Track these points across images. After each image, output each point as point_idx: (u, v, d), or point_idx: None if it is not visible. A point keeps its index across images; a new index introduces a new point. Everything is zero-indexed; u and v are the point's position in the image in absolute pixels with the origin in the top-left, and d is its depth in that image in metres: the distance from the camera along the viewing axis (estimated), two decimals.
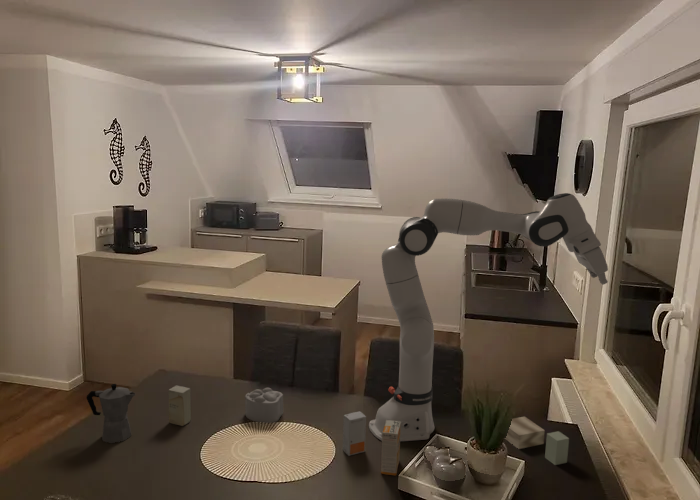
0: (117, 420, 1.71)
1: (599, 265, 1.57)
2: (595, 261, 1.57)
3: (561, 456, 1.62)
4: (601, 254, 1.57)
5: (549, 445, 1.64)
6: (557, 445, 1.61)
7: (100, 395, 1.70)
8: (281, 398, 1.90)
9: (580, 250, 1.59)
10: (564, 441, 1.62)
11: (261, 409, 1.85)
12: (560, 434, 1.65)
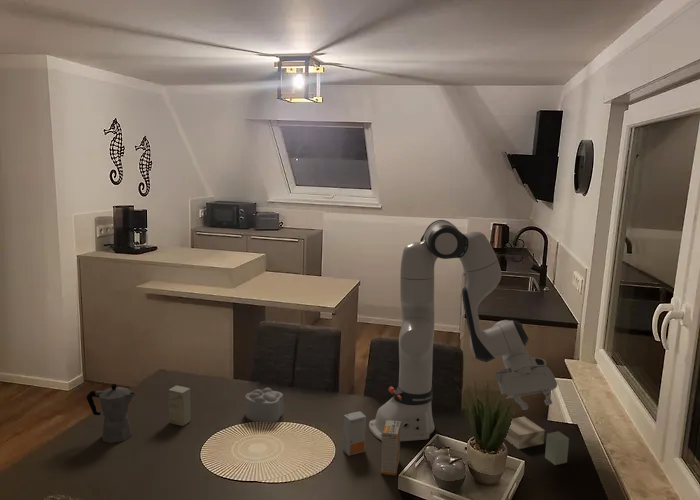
0: (117, 420, 1.71)
1: None
2: None
3: (561, 456, 1.62)
4: None
5: (549, 445, 1.64)
6: (557, 445, 1.61)
7: (100, 395, 1.70)
8: (281, 398, 1.89)
9: None
10: (564, 441, 1.62)
11: (261, 409, 1.85)
12: (560, 434, 1.65)
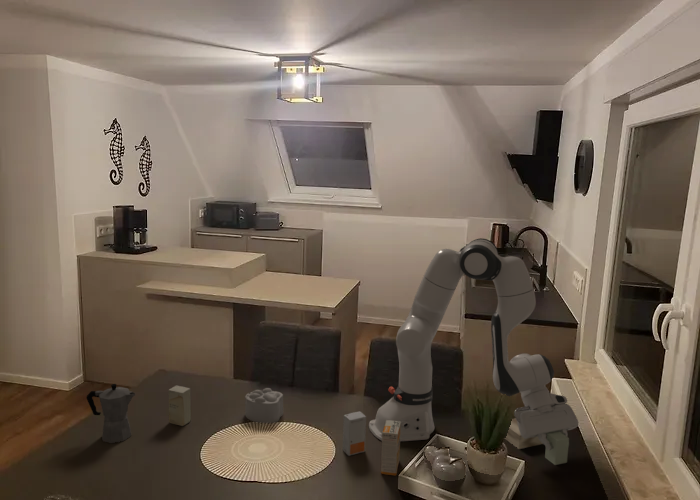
0: (117, 420, 1.71)
1: None
2: None
3: (561, 456, 1.62)
4: None
5: None
6: (557, 445, 1.61)
7: (100, 395, 1.70)
8: (281, 398, 1.89)
9: None
10: (564, 441, 1.62)
11: (261, 409, 1.84)
12: (560, 434, 1.65)
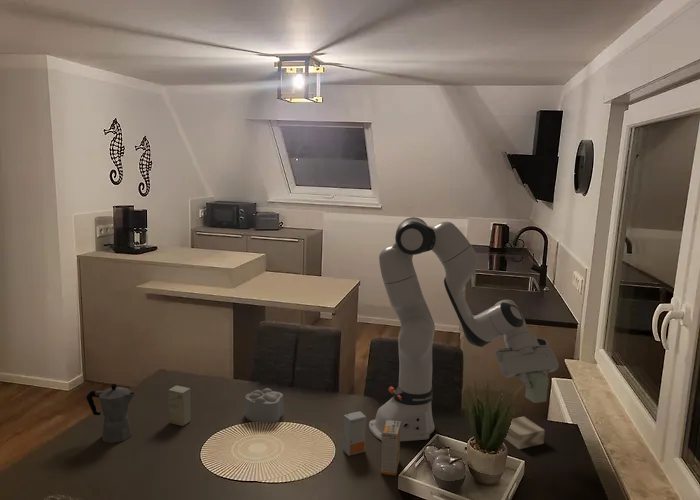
0: (117, 420, 1.71)
1: None
2: None
3: (540, 394, 1.67)
4: None
5: None
6: (537, 384, 1.66)
7: (100, 395, 1.70)
8: (281, 398, 1.89)
9: None
10: (544, 380, 1.67)
11: (262, 409, 1.84)
12: (540, 374, 1.69)
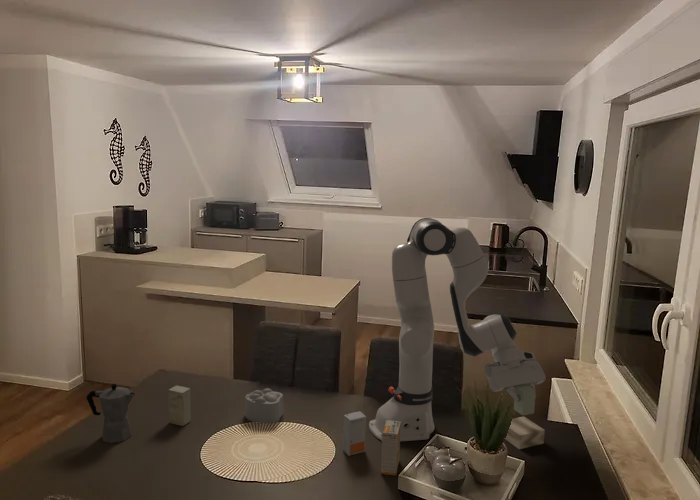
0: (117, 420, 1.71)
1: None
2: None
3: (528, 407, 1.73)
4: None
5: None
6: (524, 397, 1.72)
7: (100, 395, 1.70)
8: (281, 398, 1.89)
9: None
10: (531, 393, 1.73)
11: (262, 409, 1.84)
12: (527, 387, 1.75)
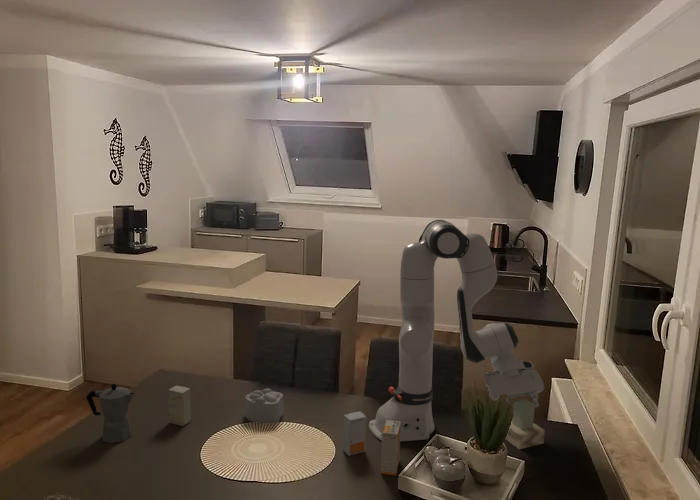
0: (117, 420, 1.71)
1: None
2: None
3: (527, 421, 1.74)
4: None
5: (517, 411, 1.75)
6: (523, 411, 1.73)
7: (100, 395, 1.70)
8: (281, 398, 1.89)
9: None
10: (530, 407, 1.73)
11: (262, 410, 1.84)
12: (527, 401, 1.76)
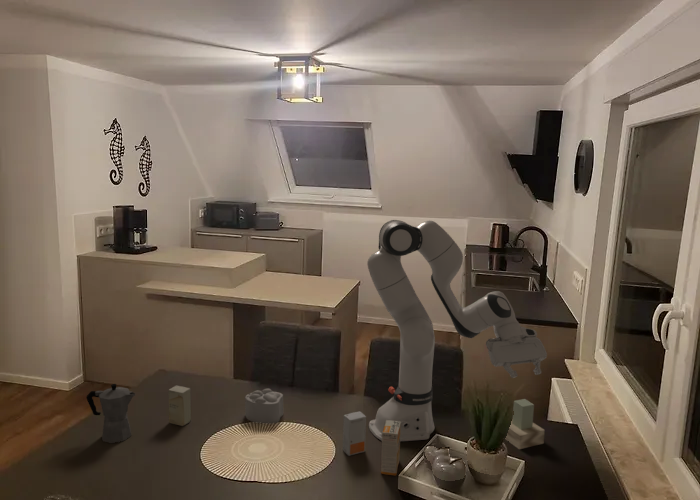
0: (117, 420, 1.71)
1: None
2: None
3: (526, 421, 1.74)
4: None
5: (516, 411, 1.75)
6: (523, 411, 1.73)
7: (100, 395, 1.70)
8: (281, 399, 1.89)
9: None
10: (529, 407, 1.74)
11: (262, 410, 1.84)
12: (526, 401, 1.76)
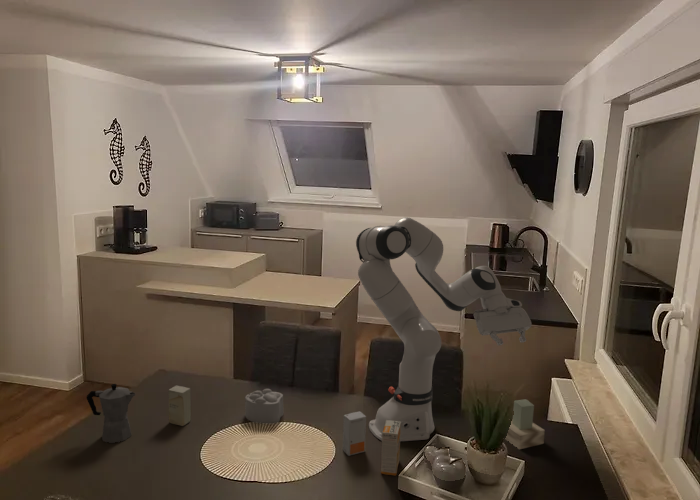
0: (117, 420, 1.71)
1: None
2: None
3: (526, 421, 1.74)
4: None
5: (516, 411, 1.75)
6: (522, 411, 1.73)
7: (100, 395, 1.70)
8: (281, 399, 1.89)
9: None
10: (529, 408, 1.73)
11: (262, 410, 1.84)
12: (527, 402, 1.76)
